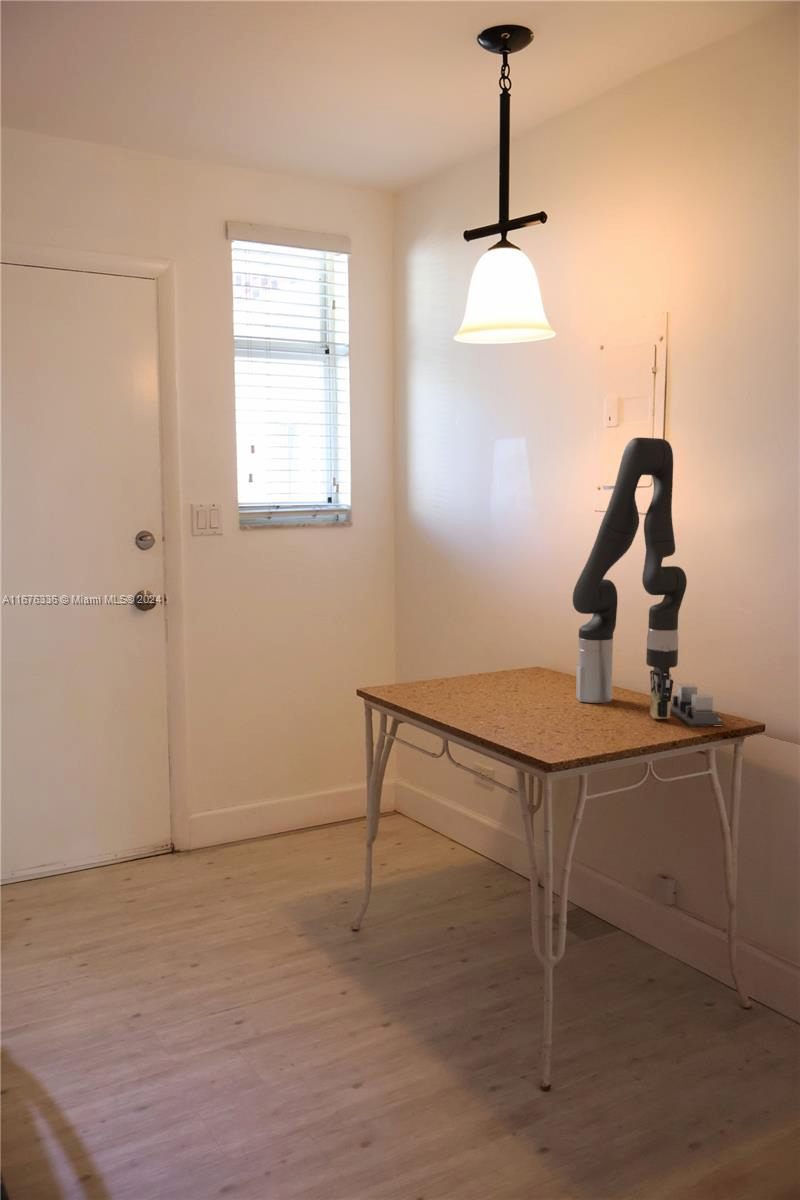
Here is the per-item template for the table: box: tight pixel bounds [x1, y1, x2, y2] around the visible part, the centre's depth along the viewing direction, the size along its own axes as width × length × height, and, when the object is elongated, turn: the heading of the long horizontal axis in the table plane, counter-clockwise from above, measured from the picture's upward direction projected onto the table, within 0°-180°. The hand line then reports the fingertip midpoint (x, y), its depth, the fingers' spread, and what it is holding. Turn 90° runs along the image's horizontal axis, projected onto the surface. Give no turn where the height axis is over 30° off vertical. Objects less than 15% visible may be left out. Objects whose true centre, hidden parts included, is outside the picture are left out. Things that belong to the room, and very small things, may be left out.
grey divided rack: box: [670, 683, 724, 728], centre depth 249 cm, size 8×21×7 cm, turn 179°
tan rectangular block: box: [649, 690, 672, 719], centre depth 246 cm, size 4×4×6 cm
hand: (660, 714), depth 247 cm, fingers closed on tan rectangular block, 4 cm apart
